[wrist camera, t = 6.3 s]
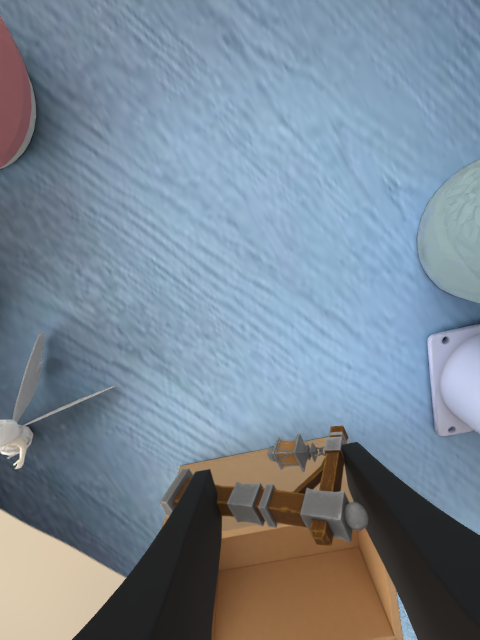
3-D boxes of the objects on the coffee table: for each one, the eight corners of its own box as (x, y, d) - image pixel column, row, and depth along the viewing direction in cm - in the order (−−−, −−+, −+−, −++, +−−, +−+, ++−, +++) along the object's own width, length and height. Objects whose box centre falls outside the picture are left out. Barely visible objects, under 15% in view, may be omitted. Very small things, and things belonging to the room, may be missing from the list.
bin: (363, 543, 23) (403, 640, 17) (215, 569, 24) (206, 669, 18) (344, 433, 21) (383, 502, 15) (180, 465, 22) (156, 543, 16)
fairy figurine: (-32, 432, 20) (-75, 421, 14) (50, 360, 24) (41, 329, 18) (41, 478, 21) (27, 485, 15) (108, 401, 25) (117, 384, 19)
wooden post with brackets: (374, 446, 11) (379, 571, 8) (223, 454, 15) (176, 539, 12) (359, 410, 11) (357, 523, 7) (208, 428, 15) (155, 507, 11)
